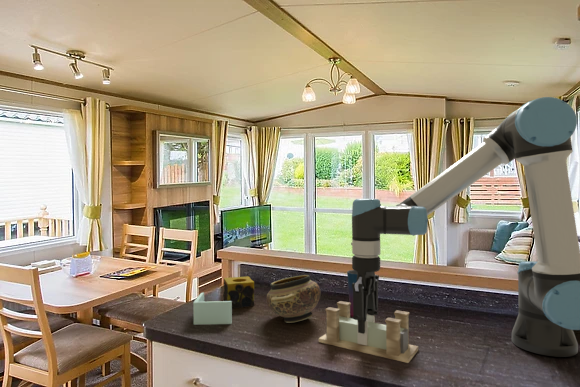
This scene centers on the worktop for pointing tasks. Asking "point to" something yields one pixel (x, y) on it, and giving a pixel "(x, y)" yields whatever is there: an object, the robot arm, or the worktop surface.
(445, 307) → the worktop surface
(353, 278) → the cup
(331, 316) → the bar on post stand
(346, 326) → the rail
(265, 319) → the worktop surface
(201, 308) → the l-shaped corner panel
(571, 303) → the robot arm
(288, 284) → the ceramic bowl
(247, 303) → the yellow patterned cube
